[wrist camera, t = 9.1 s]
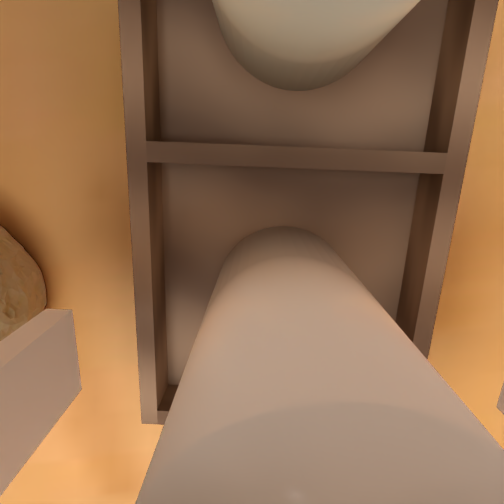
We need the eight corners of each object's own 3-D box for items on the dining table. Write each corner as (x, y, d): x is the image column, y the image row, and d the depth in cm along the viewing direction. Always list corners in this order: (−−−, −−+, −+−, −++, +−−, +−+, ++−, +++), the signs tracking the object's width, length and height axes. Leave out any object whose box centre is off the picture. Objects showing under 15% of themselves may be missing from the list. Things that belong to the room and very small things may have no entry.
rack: (136, -200, 13) (100, -308, 10) (488, -190, 13) (557, -298, 10) (159, 384, 19) (141, 423, 16) (389, 395, 19) (411, 436, 16)
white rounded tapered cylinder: (218, 223, 16) (105, 389, 4) (353, 229, 16) (615, 413, 4) (217, 343, 17) (133, 697, 6) (338, 348, 17) (496, 718, 6)
